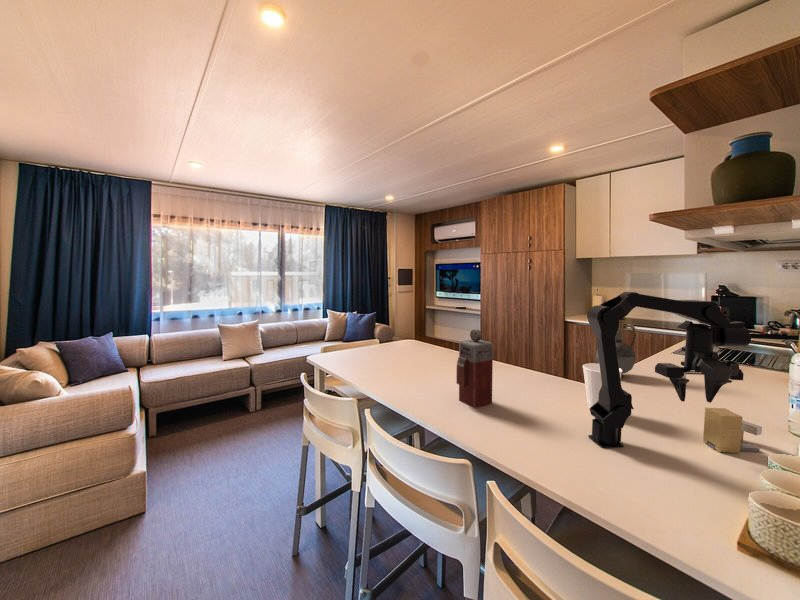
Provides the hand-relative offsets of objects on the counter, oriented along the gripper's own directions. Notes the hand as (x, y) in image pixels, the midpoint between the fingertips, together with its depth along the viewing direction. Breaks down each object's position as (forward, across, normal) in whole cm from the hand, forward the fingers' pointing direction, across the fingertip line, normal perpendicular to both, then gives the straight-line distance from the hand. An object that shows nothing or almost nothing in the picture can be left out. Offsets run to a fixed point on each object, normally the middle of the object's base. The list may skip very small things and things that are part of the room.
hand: (695, 401), depth 92 cm
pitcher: (+13, +13, +66) cm, 69 cm away
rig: (+13, +11, +3) cm, 17 cm away
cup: (+13, -14, +22) cm, 29 cm away
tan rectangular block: (+13, +7, 0) cm, 15 cm away
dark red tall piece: (+13, -58, +27) cm, 65 cm away
